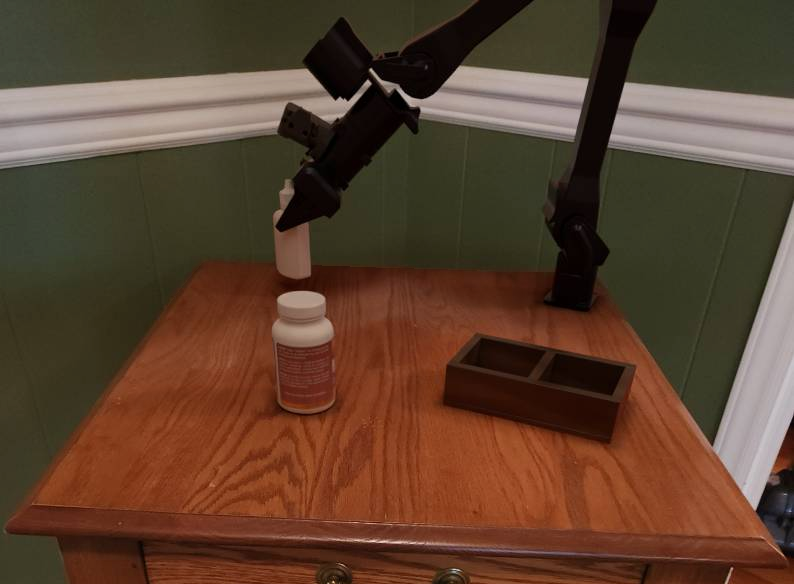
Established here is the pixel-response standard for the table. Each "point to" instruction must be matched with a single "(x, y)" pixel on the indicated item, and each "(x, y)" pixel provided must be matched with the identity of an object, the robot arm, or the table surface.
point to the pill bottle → (303, 353)
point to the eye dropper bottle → (291, 242)
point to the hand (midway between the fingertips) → (280, 223)
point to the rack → (539, 386)
